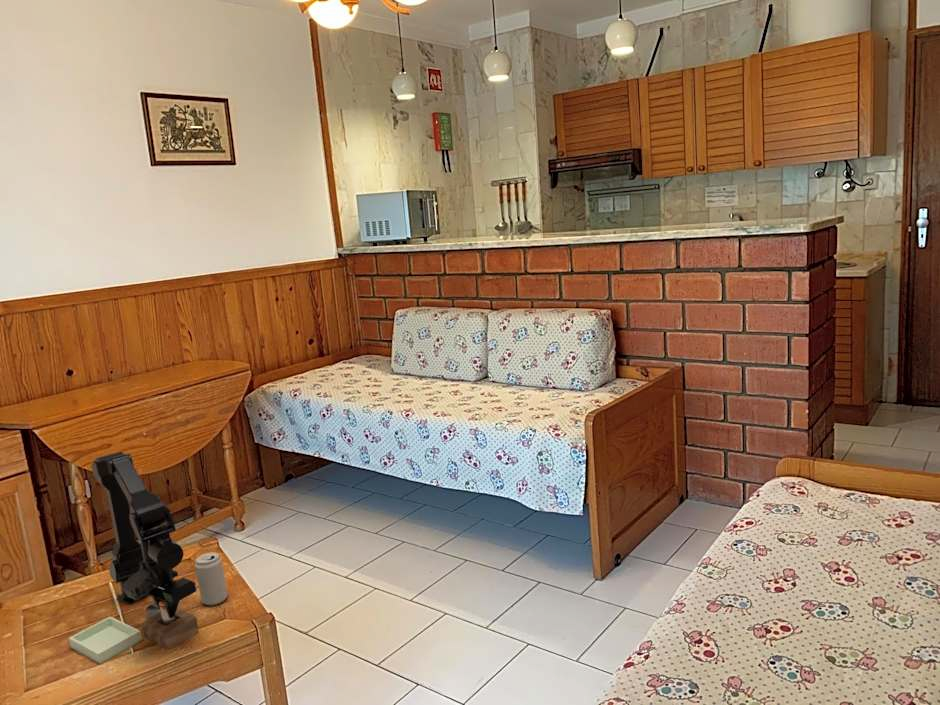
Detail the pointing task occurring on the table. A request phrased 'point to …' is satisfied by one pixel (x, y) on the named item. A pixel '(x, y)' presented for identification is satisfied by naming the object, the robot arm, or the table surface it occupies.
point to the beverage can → (211, 578)
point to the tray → (105, 639)
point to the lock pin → (165, 614)
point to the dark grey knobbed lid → (152, 610)
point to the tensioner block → (170, 629)
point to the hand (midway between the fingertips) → (168, 615)
